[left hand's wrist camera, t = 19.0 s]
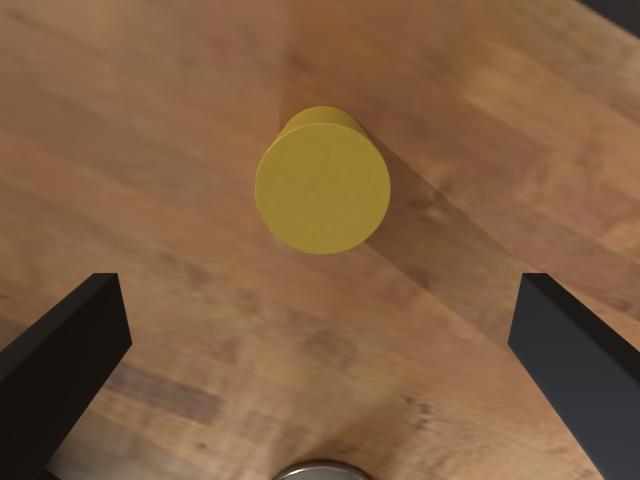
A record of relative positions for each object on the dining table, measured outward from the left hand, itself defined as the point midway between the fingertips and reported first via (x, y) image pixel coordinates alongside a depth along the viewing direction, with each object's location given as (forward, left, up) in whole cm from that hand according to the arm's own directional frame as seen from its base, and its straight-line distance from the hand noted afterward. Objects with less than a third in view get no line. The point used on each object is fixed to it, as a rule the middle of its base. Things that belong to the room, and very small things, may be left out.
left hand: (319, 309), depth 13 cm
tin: (0, 0, -24) cm, 24 cm away
